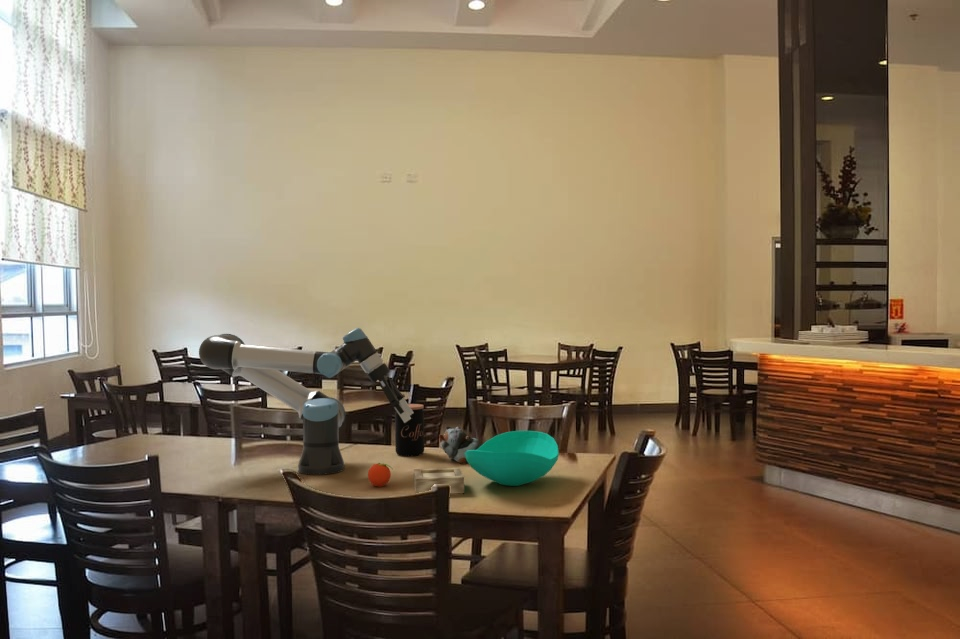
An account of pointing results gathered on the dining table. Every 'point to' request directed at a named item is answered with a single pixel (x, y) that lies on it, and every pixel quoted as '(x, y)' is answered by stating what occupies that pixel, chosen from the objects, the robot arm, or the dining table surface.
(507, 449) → the table top decor
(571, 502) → the dining table surface
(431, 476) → the tray
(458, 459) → the grey sculpted piece
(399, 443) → the coffee jar
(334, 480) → the dining table surface
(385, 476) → the clementine
